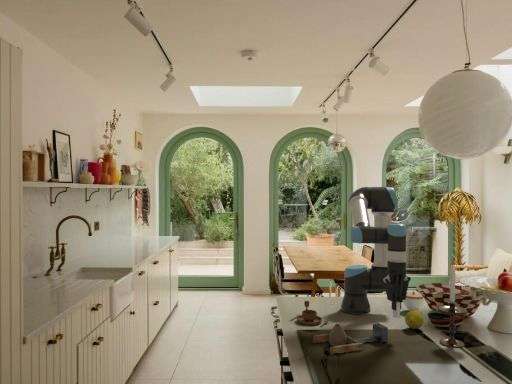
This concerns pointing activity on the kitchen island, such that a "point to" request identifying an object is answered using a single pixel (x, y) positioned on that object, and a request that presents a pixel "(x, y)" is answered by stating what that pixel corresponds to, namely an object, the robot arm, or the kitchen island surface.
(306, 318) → the place setting
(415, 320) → the lemon
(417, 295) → the lidded jar
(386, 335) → the lopsided grey dumbbell
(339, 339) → the vase
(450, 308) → the candlestick
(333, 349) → the channel
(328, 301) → the kitchen island surface
